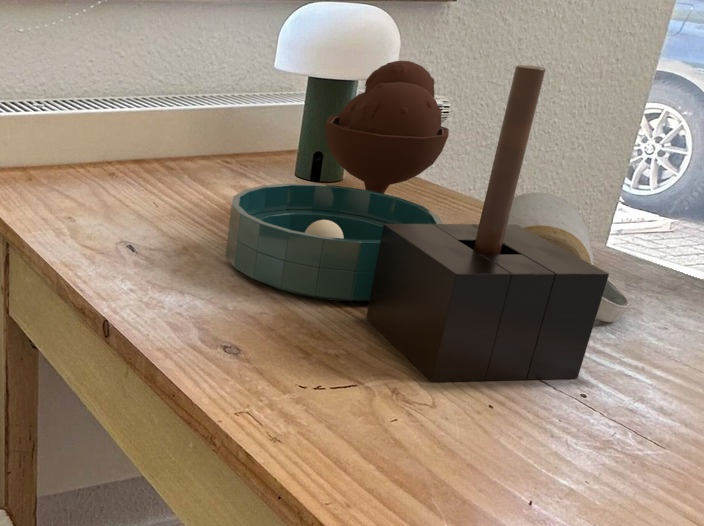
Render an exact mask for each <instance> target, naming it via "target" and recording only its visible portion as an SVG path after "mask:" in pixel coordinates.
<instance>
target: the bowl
mask: <svg viewBox="0 0 704 526" xmlns="http://www.w3.org/2000/svg"><path fill="white" fill-rule="evenodd" d="M230 206H231V207H230V216H229V223H228V232H227V233H228V234H227V240H226V241H227V242H226V252H225V258H226V260H228V261H229V263H230V264H231V265H232V266H233V268H234V269H236V270H237V271H239V272H240V273H243V274H244V275H246V276H247V277H250V278H251V279H252V280H256V281H258V282H260V283H262V284H264V285H266V286H269V287H272V288H274V289H277V290H280V291H283V292H287V293H290V294H294V295H298V296H303V297H308V298H313V299H319V300H326V301H327V300H328V301H339V302H369V300H370V295H371V290H372V284H373V279H374V273H375V268H376V263H377V257H378V252H379V247H380V241H381V236H382V230H383V225H384V224H444V222H443V220H442V219H441V217H440V216H439V215H438V214H436V213H435V212H433V211H431V209H428V208H426V207H425V206H423V205H421V204H418V203H415V202H413V201H411V200H407V199H404V198H402V197H398V196H395V195H390V194H387V193H386V194H385V193H384V194H382V193H378V192H373V191H369V190H366V189H362V188H356V187H351V186H350V187H349V186H344V185H343V186H342V185H332V184H321V183H278V184H277V183H276V184H266V185H259V186H254V187H251V188H246V189H243V190H241V191H239V192H238V193H236V194H235V195H233V196H232V199H231V205H230ZM319 220H329V221H332V222H334V223H336V224H337V225H338V226H339V227H340V229H341V230H342V233H343V237H344V238H334V237H324V236H319V235H314V234H308V233H305V231H306V229H307V228H308V227H309V226H310V225H311V224H312V223H314V222H316V221H319Z"/></svg>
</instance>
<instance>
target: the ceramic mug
mask: <svg viewBox="0 0 704 526" xmlns="http://www.w3.org/2000/svg"><path fill="white" fill-rule="evenodd" d="M508 224H516V225H518V226H520V227H522V228H524V229H526V230H528V231H530V232H532V233H533V234H535V235H537V236H539V237H541V238H543V239H545V240H547V241H549V242H550V243H552V244H554V245H556V246H558V247H560V248H562V249H564V250H566V251H567V252H569V253H571V254H573V255H575V256H577V257H579V258H581V259H582V260H584V261H586V262H588V263H590V264H592V265H594V253H593V250H592V245H591V238H590V237H591V236H590V231H589V227H588V224H587V222H586V220H585V218H584V216H583V215H582V213H581V211H580V210H579V209H578V208H577V207H576V206H575V205H574V204H573V203H571V202H570V201H568V200H567V199H565V198H563V197H562V196H559V195H556V194H553V193H549V192H525V193H520V194H518V195H514V199H513V203H512V208H511V212H510V216H509V220H508ZM629 308H630V300H629V299H628V298H627V296H626V294H625V293H624V292H623V291H622V290H621V289H620V288H619V287H618V286H617V285H616V284H614V283H613V282H612V281H611V280H610V279H609V278H608V280H607V283H606V286H605V289H604V293H603V296H602V299H601V303H600V306H599V309H598V312H597V316H596V319H597V320H599V321H602V322H606V323H615V322H617V321H618V320H619V319H620V318H621V317H622V316H623V315H624V314H626V312H627V311H628V310H629Z"/></svg>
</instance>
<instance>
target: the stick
mask: <svg viewBox="0 0 704 526" xmlns="http://www.w3.org/2000/svg"><path fill="white" fill-rule="evenodd" d="M514 68H515V69H514V72H513V77H512V82H511V86H510V89H509V95H508V99H507V103H506V107H505V110H504V111H505V112H504V115H503V120H502V124H501V129H500V133H499V137H498V142H497V145H496V149H495V155H494V158H493V163H492V168H491V172H490V176H489V180H488V183H487V189H486V193H485V197H484V201H483V205H482V210H481V214H480V219H479V222H478V224H479V227H478V231H477V236H476V240H475V244H474V248H473V250H474V251H476V252H477V253H479V254H480V255H500V252H501V248H502V244H503V240H504V236H505V232H506V228H507V224H508V220H509V216H510V212H511V208H512V203H513V199H514V197H515V196H516V191H517V187H518V183H519V179H520V174H521V171H522V166H523V163H524V158H525V156H526V155H525V154H526V151H527V147H528V142H529V138H530V134H531V131H532V126H533V123H534V119H535V115H536V110H537V106H538V102H539V98H540V95H541V89H542V86H543V83H544V82H543V81H544V78H545V73H546V67H544V66H543V67H542V66H536V65H529V64H527V65H525V64H518V65H516V66H515V67H514Z"/></svg>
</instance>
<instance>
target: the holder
mask: <svg viewBox="0 0 704 526" xmlns="http://www.w3.org/2000/svg"><path fill="white" fill-rule="evenodd" d="M478 227H479V223H471V224H470V223H443V224H384V225H383V230H382V236H381V241H380V247H379V252H378V257H377V263H376V268H375V273H374V279H373V284H372V290H371V295H370V300H369V301H368V305H367V307H368V308H367V311H366V316H365V317H366V318H365V320H367V321H368V322H369V323H370V324H371V325H372V326H373V327H374V328H375V329H376V330H377V331H378V332H379V333H380V334H381V335H382V336H383V337H384V338H386V339H387V340H388V341H389V342H390V343H391V344H392V345H393V346H394V347H395V348H396V349H397V350H398V351H399V352H400V353H401V354H402V355H403V356H404V357H405V358H406V359H408V361H410V363H412V364H413V366H415V367H416V368H417V369H418V370H419V371H420V372H421V373H422V374H423V375H424V376H425V377H426V378H427V379H428V380H429V381H430V382H431V383H439V382H440V383H442V382H443V383H444V382H445V383H446V382H484V381H514V380H515V381H517V380H518V381H521V380H560V379H564V380H565V379H578V378H579V375H580V373H581V369H582V365H583V362H584V359H585V356H586V352H587V348H588V345H589V342H590V339H591V336H592V332H593V329H594V325H595V323H596V319H597V318H596V316H597V312H598V309H599V306H600V303H601V299H602V296H603V293H604V289H605V286H606V283H607V280H608V279H609V276H610V273H609V272H608V271H605V270H603V269H601V268H599V267H598V266H597V265H594V264H593V265H592V264H590V263H588V262H586V261H584V260H582V259H581V258H579V257H577V256H575V255H573V254H571V253H569V252H567V251H566V250H564V249H562V248H560V247H558V246H556V245H554V244H552V243H550V242H549V241H547V240H545V239H543V238H541V237H539V236H537V235H535V234H533V233H532V232H530V231H528V230H526V229H524V228H522V227H520V226H518V225H516V224H507V228H506V232H505V236H504V240H503V244H502V248H501V252H500V255H480V254H479V253H477V252H476V251H474V250H473V248H474V244H475V240H476V236H477V231H478Z"/></svg>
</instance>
